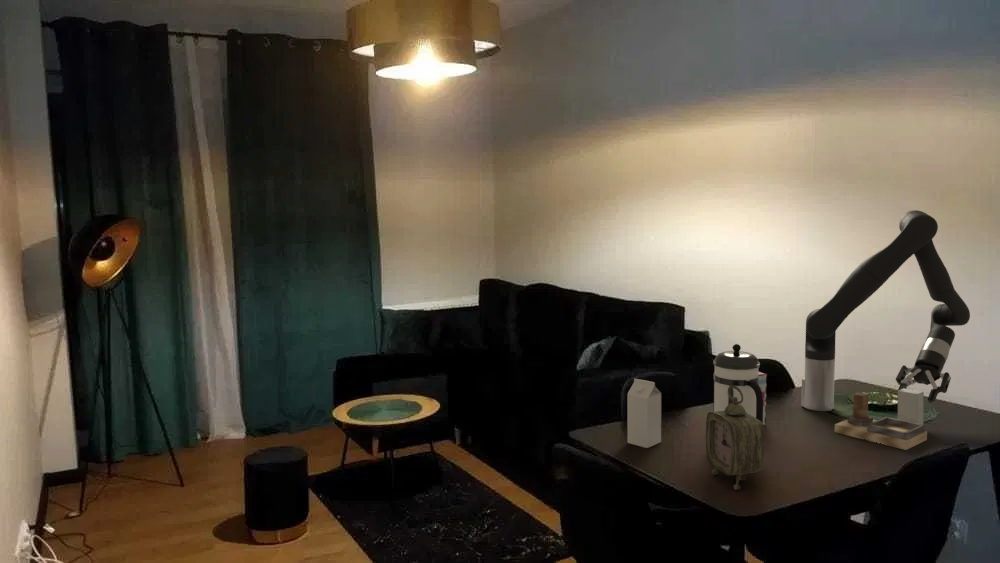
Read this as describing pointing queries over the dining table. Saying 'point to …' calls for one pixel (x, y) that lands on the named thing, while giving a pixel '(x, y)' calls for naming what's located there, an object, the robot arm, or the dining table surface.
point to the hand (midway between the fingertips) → (914, 398)
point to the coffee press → (738, 381)
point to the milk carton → (644, 414)
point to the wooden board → (880, 427)
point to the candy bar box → (763, 392)
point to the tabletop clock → (735, 441)
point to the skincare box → (910, 405)
